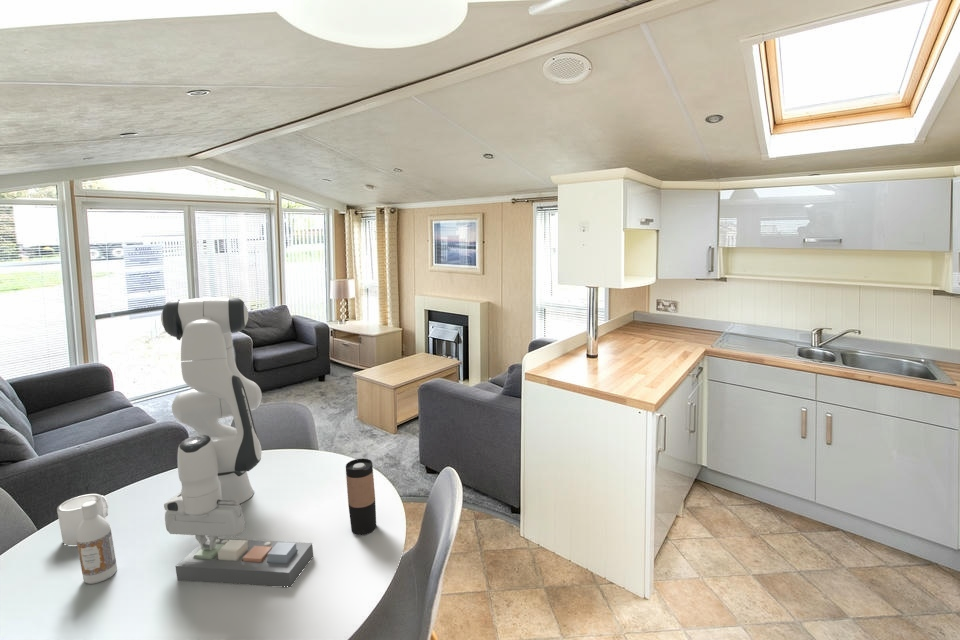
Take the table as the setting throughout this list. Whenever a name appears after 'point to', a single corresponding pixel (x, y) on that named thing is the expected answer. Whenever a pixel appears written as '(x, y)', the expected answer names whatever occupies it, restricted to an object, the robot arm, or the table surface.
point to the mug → (77, 515)
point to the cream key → (233, 550)
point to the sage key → (208, 553)
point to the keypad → (245, 567)
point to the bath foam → (95, 546)
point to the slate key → (282, 552)
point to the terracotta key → (257, 554)
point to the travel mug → (361, 496)
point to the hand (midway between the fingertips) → (208, 548)
